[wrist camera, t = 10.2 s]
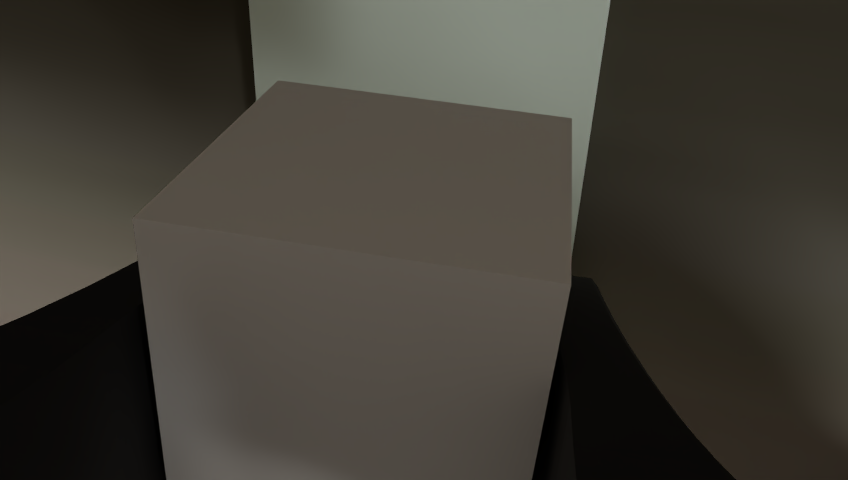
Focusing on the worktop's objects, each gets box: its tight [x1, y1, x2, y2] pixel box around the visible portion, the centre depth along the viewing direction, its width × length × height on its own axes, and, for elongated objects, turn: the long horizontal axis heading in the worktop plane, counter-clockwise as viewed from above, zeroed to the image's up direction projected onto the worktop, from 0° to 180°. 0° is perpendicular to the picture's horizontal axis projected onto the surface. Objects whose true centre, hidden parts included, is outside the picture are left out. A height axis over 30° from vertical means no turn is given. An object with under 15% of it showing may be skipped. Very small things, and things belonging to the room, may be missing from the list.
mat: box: [249, 0, 610, 258], centre depth 19 cm, size 10×8×1 cm
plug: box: [132, 80, 572, 480], centre depth 12 cm, size 7×4×5 cm, turn 176°
